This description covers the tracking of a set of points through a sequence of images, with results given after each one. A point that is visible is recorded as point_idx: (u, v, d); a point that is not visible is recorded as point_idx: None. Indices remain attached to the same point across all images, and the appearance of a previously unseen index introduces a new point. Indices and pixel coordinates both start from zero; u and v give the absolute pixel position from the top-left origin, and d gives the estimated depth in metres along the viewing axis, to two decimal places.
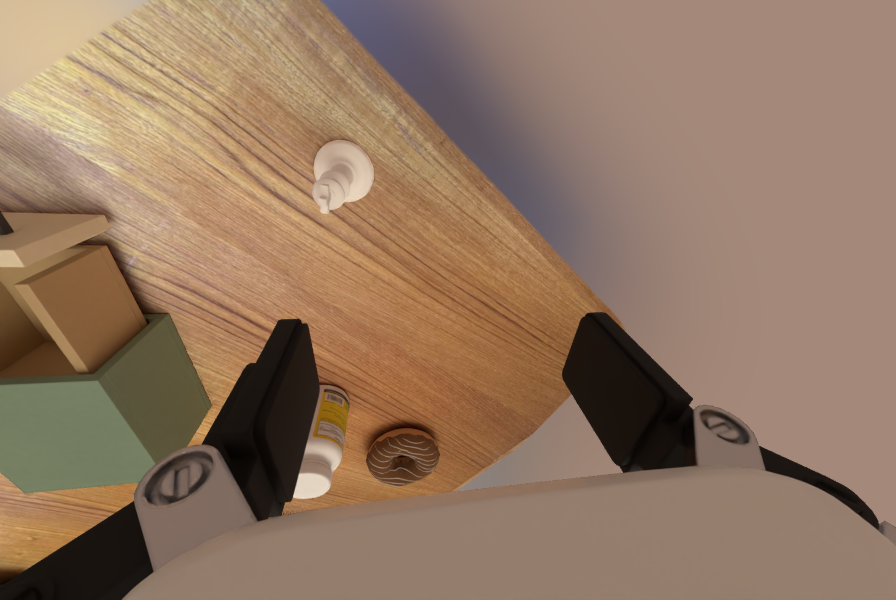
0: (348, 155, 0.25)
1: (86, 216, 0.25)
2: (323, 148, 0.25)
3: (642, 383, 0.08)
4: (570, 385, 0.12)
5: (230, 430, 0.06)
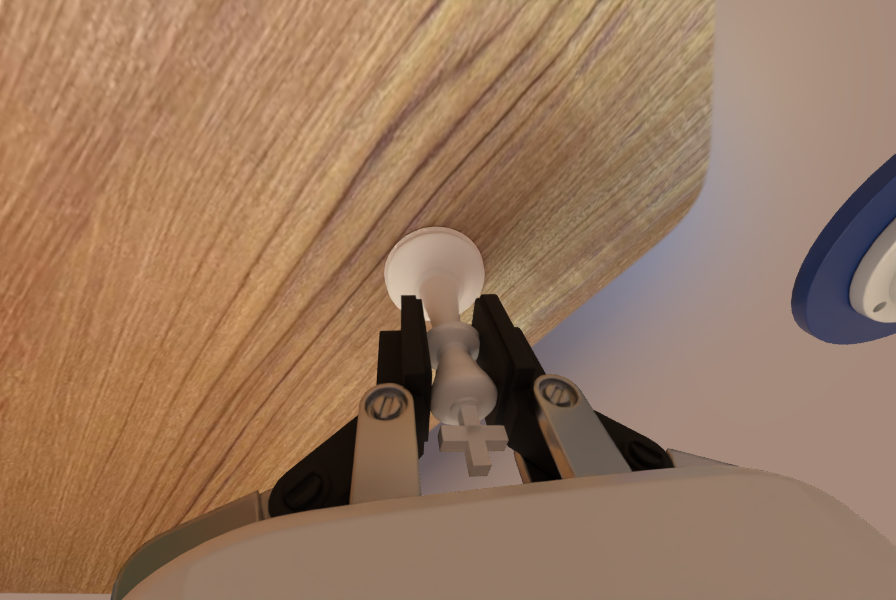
0: (466, 294, 0.15)
1: None
2: (477, 255, 0.15)
3: (501, 355, 0.09)
4: None
5: (411, 372, 0.08)
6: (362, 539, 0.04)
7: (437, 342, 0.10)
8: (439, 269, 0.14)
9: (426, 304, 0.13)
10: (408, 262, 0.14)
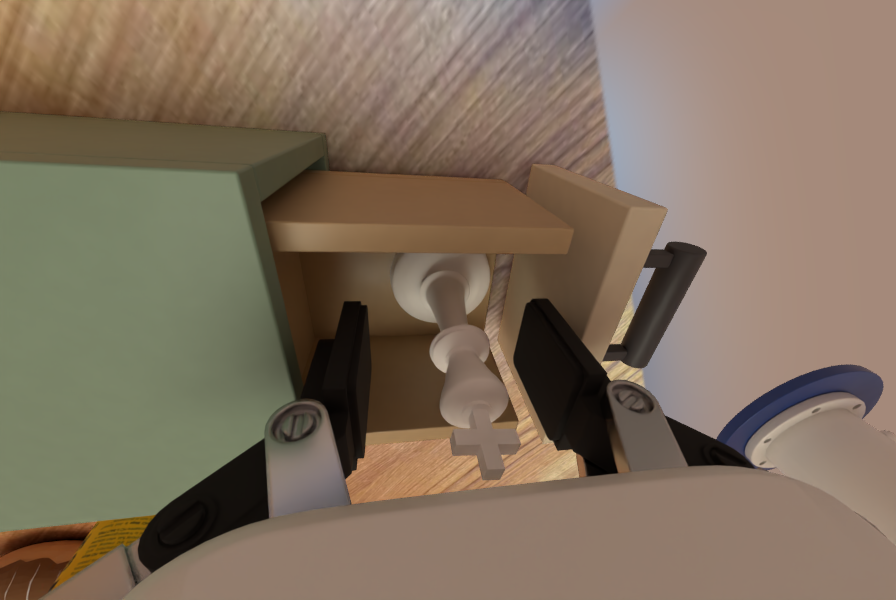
0: (472, 296, 0.15)
1: None
2: (483, 257, 0.15)
3: (566, 361, 0.09)
4: (518, 369, 0.12)
5: (330, 386, 0.07)
6: (362, 539, 0.04)
7: (446, 345, 0.10)
8: (445, 271, 0.14)
9: (433, 306, 0.13)
10: (415, 265, 0.14)
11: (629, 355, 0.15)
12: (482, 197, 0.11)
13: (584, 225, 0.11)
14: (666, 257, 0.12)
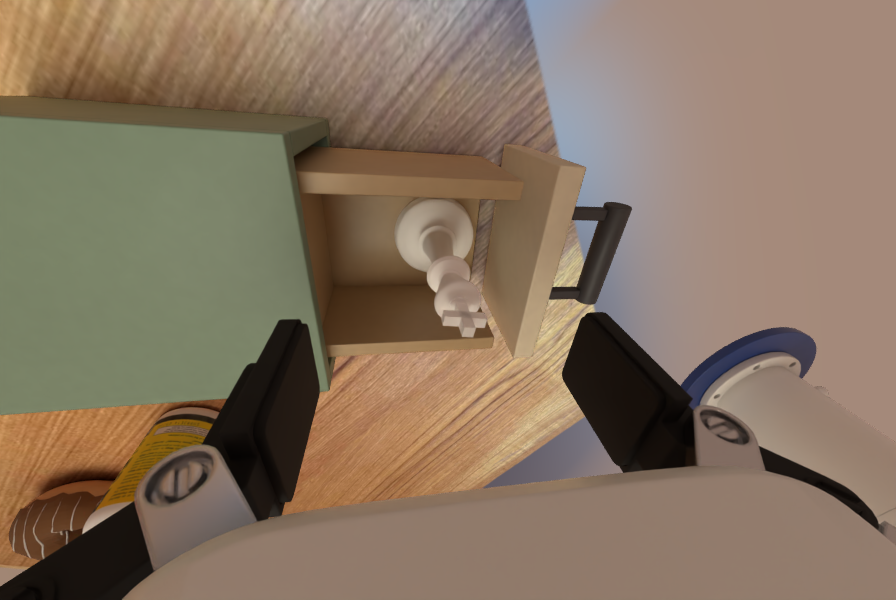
0: (459, 249, 0.20)
1: None
2: (467, 217, 0.19)
3: (642, 383, 0.08)
4: (570, 385, 0.12)
5: (230, 430, 0.06)
6: (362, 539, 0.04)
7: (438, 270, 0.15)
8: (438, 226, 0.18)
9: (428, 251, 0.17)
10: (414, 222, 0.18)
11: (581, 294, 0.19)
12: (464, 165, 0.15)
13: (536, 184, 0.15)
14: (602, 212, 0.17)
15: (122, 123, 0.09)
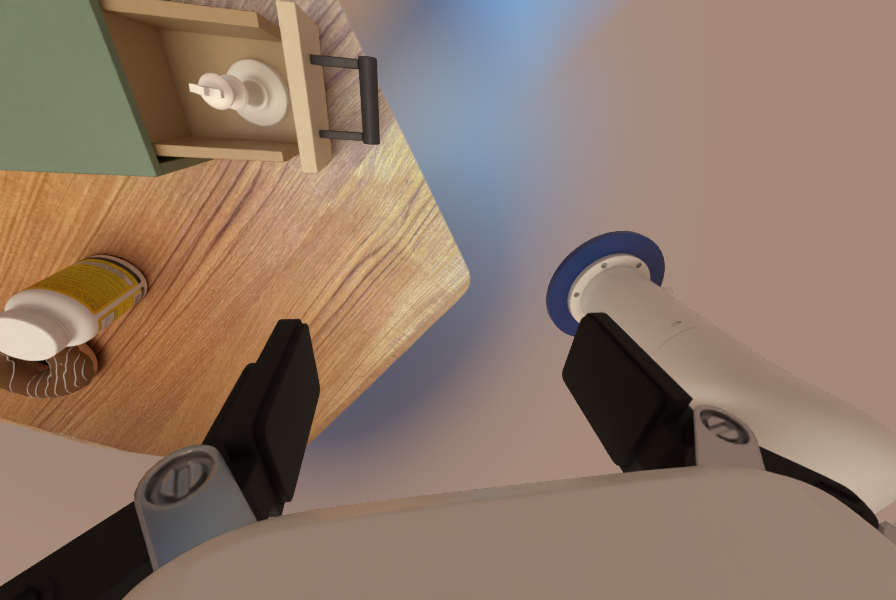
0: (275, 103, 0.27)
1: (330, 152, 0.31)
2: (276, 76, 0.26)
3: (642, 383, 0.08)
4: (570, 385, 0.12)
5: (230, 430, 0.06)
6: (362, 539, 0.04)
7: None
8: (248, 77, 0.25)
9: None
10: (234, 76, 0.26)
11: (363, 135, 0.27)
12: None
13: None
14: (353, 60, 0.24)
15: None
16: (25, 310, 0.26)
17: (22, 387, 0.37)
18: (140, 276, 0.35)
